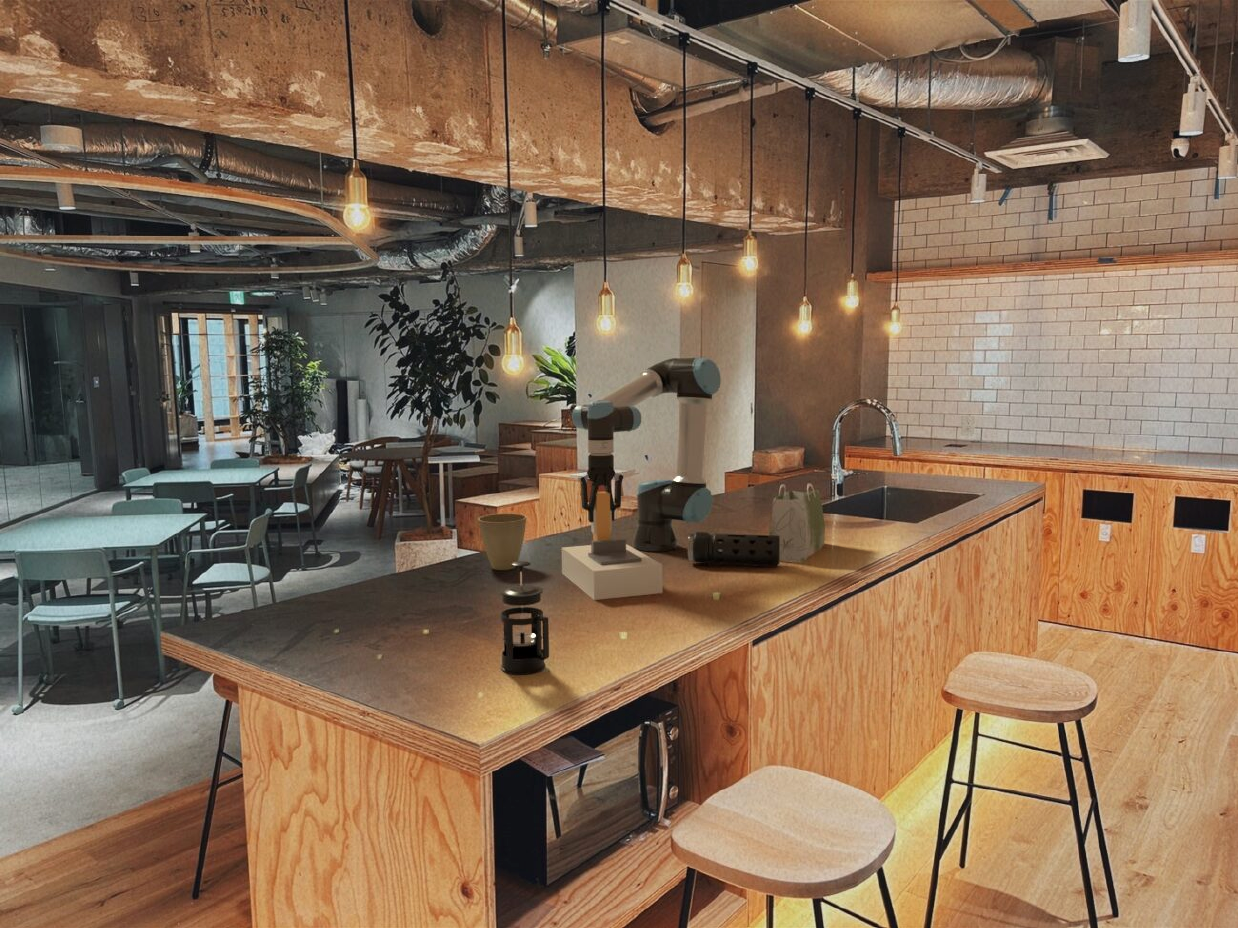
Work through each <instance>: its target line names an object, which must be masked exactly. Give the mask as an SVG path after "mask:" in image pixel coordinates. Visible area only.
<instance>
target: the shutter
mask: <svg viewBox="0 0 1238 928" xmlns="http://www.w3.org/2000/svg"><path fill="white" fill-rule="evenodd" d="M626 544H627V539H626V538H624V537H622V538H612V539H611V538H610V539H609V540H596V541H593V540H591V542H590V545H591V553H588V556H589V557H591V558H592V559H594V560H595V561H596V562H598V563H599V564H601V565H604V564H615V563H626V562H636V561H641V558H640V557H639V556H637V555H635V554H633V553H632V552H630V551H628V550H626Z"/></svg>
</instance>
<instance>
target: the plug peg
mask: <svg viewBox="0 0 1238 928" xmlns="http://www.w3.org/2000/svg"><path fill="white" fill-rule="evenodd" d="M594 511H596V525H597V534H594V533H592V541H596V540H609V539H611V533H610V493H607V492H605V490H604V491H597V494H596V502H595V507H594Z"/></svg>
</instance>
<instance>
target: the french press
mask: <svg viewBox="0 0 1238 928" xmlns="http://www.w3.org/2000/svg"><path fill="white" fill-rule="evenodd" d="M531 564H532V563H531V562H529V561H525V560H518V561H517V562H513V563H511V565H512V566H516V567H517V568H518V572H519V578H520V579H519V581H520V583H519V585H511V586H507V587H503V588H501V589H500V591H499V594H500V595H501V596H502V597H501V598H502V602H503V604H505V605H509V606H516V607H512V608H507V609H505V610H503V611H501V613H500V621H501V622H502V623H503V638H502V641H503V649H504V650H502V652H501V666H500V669H501V671H502V672H504V673H506V674H509V675H516V676H526V675H527V676H529V675H533V674H537V673H539V672H542V671H543V670H544V669H545V668H546V663H545V660H547V659H549V658H550V629H549V617H547V616H544V612H543V610H542V609H539V608H538V607H537V608H536V607H531V606H529V605H536V604H538V603H540V601H541V597H542V594H543V592H544V591H543V588H542V587H539V586H537V585H531V584H529V585H528V584H527V585H526V584H525V585H524V584H523V572H524V567H528V566H531ZM516 567H515V568H516ZM516 614H520V618H510V615H516ZM524 614H530V617H528V618H524ZM529 625H530V627H531V632H529V631H528V632H527V631H525V632H524V626H529ZM514 626H521V627H520V628H521V631H520V632H515V633H514V628H513V627H514Z"/></svg>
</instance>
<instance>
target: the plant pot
mask: <svg viewBox="0 0 1238 928" xmlns="http://www.w3.org/2000/svg"><path fill="white" fill-rule="evenodd" d="M477 521H478V524H479V525H478V527H479V530H480V535H481V536H480V537H481V539H482V543H483V547H484V550H485V553H486V555H487V558H488V561H489V563H490V565H491V568H492V569H493V570H497V571H508V570H513V569H515V568H516V566H512V565H511V563H513V562H517V561H519V559H520V555H521V551H522V548H523V543H524V537H525V532H526V524H527V516H526V515H525V514H521V513H506V512H505V513H493V514H487V515H482V516H479V517H478V518H477Z"/></svg>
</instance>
